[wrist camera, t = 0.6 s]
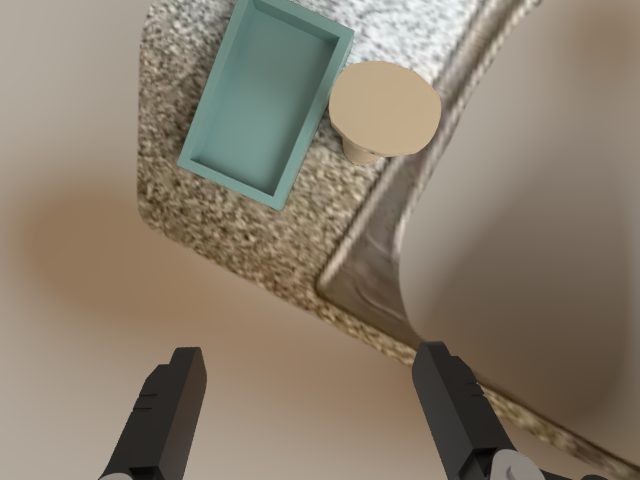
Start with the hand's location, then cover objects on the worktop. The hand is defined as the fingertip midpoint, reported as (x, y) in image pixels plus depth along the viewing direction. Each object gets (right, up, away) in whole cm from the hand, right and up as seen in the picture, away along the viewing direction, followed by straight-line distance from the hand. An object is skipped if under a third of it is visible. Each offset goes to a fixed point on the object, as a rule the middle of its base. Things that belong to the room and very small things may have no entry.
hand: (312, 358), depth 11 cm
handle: (+4, +14, +21) cm, 26 cm away
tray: (-5, +18, +21) cm, 28 cm away
